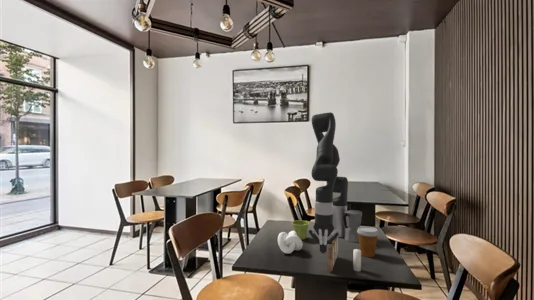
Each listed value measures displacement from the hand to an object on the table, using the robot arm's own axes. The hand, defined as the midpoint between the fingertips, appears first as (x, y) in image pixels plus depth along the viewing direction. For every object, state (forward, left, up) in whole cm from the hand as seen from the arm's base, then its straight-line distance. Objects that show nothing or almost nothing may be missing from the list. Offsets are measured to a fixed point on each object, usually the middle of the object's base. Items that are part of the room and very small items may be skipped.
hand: (323, 252), depth 122 cm
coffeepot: (-29, +29, -6) cm, 41 cm away
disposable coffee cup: (-9, +26, -6) cm, 28 cm away
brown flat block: (-1, +5, -5) cm, 7 cm away
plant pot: (-38, +3, -6) cm, 38 cm away
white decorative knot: (-21, -9, -6) cm, 23 cm away
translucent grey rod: (-9, +10, -6) cm, 14 cm away
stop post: (+5, +13, -6) cm, 15 cm away
